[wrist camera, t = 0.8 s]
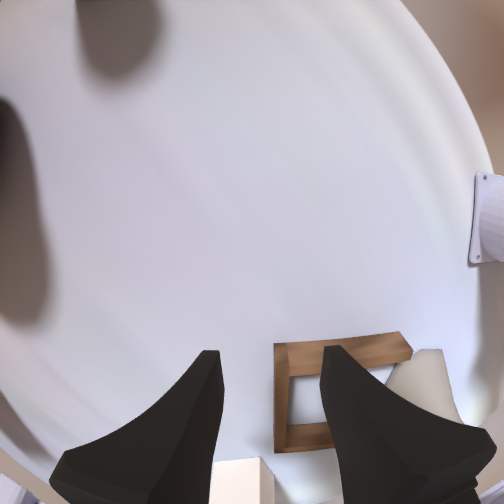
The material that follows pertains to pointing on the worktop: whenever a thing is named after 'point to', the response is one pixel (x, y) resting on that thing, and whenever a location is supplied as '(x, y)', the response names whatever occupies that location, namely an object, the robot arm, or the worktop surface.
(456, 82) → the worktop surface
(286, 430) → the box
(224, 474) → the milk
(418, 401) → the flask
